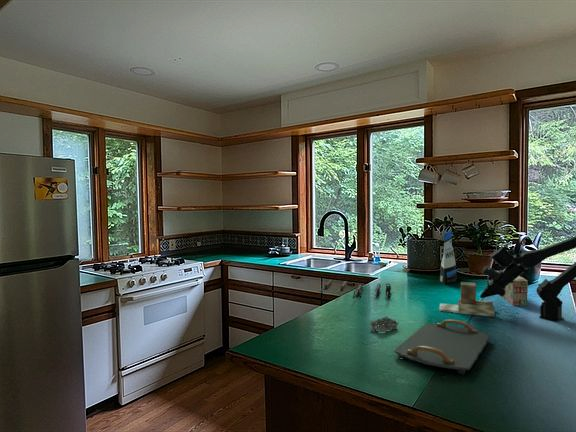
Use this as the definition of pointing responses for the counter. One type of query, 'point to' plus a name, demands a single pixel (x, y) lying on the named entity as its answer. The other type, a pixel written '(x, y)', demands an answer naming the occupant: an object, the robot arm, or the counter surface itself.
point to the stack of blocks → (517, 292)
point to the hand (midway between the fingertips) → (480, 297)
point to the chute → (470, 308)
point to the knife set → (358, 291)
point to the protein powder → (448, 261)
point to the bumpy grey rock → (387, 322)
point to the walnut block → (468, 293)
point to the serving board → (444, 345)
